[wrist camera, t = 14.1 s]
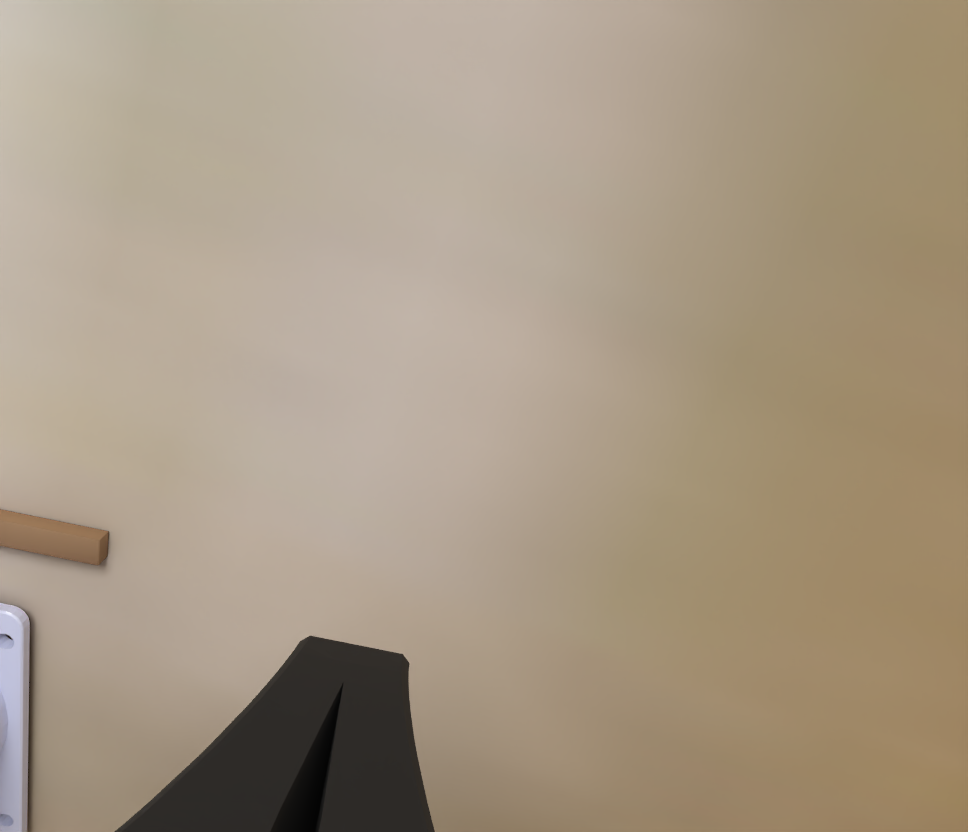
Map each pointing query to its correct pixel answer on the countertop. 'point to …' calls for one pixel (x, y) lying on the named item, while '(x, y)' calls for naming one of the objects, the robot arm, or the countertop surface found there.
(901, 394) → the countertop surface
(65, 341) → the countertop surface
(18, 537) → the track
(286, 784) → the robot arm
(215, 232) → the countertop surface
